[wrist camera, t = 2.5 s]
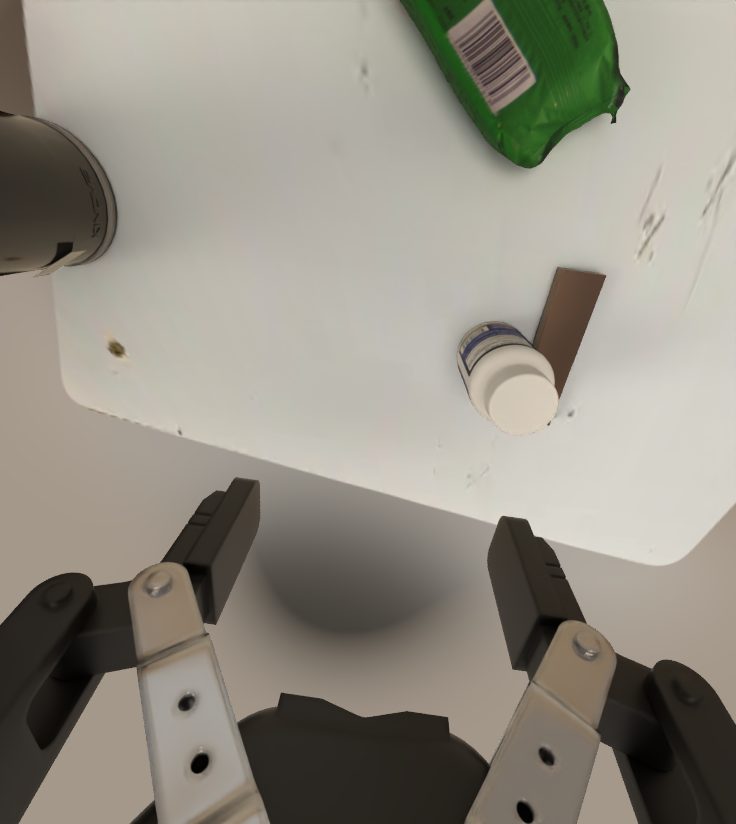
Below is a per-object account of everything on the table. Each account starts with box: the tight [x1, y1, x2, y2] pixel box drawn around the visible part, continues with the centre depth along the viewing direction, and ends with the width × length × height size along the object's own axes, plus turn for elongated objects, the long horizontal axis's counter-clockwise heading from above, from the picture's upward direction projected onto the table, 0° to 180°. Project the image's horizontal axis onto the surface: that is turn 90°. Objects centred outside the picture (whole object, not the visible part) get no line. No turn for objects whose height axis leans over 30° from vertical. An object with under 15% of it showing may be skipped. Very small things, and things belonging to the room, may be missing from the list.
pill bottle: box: [457, 322, 559, 435], centre depth 27 cm, size 5×5×10 cm
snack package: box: [400, 0, 630, 168], centre depth 21 cm, size 7×16×5 cm, turn 40°
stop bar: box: [533, 267, 606, 425], centre depth 31 cm, size 3×12×1 cm, turn 173°
